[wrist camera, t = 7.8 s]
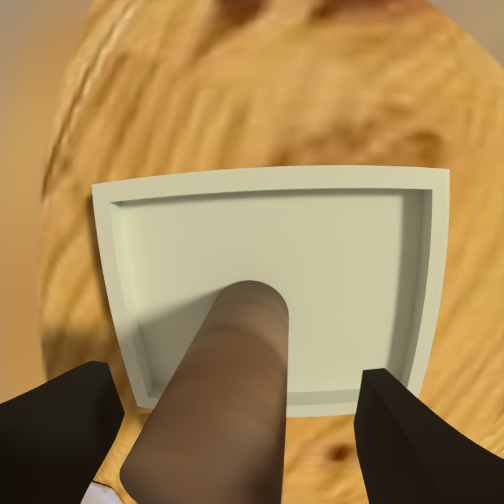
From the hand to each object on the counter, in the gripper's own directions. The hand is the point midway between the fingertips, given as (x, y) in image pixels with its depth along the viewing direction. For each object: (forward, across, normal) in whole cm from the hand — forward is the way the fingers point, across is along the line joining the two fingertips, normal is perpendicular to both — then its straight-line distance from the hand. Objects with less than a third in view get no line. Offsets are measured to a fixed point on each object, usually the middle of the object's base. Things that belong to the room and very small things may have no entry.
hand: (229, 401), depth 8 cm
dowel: (+6, 0, 0) cm, 6 cm away
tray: (+6, -1, 0) cm, 6 cm away
